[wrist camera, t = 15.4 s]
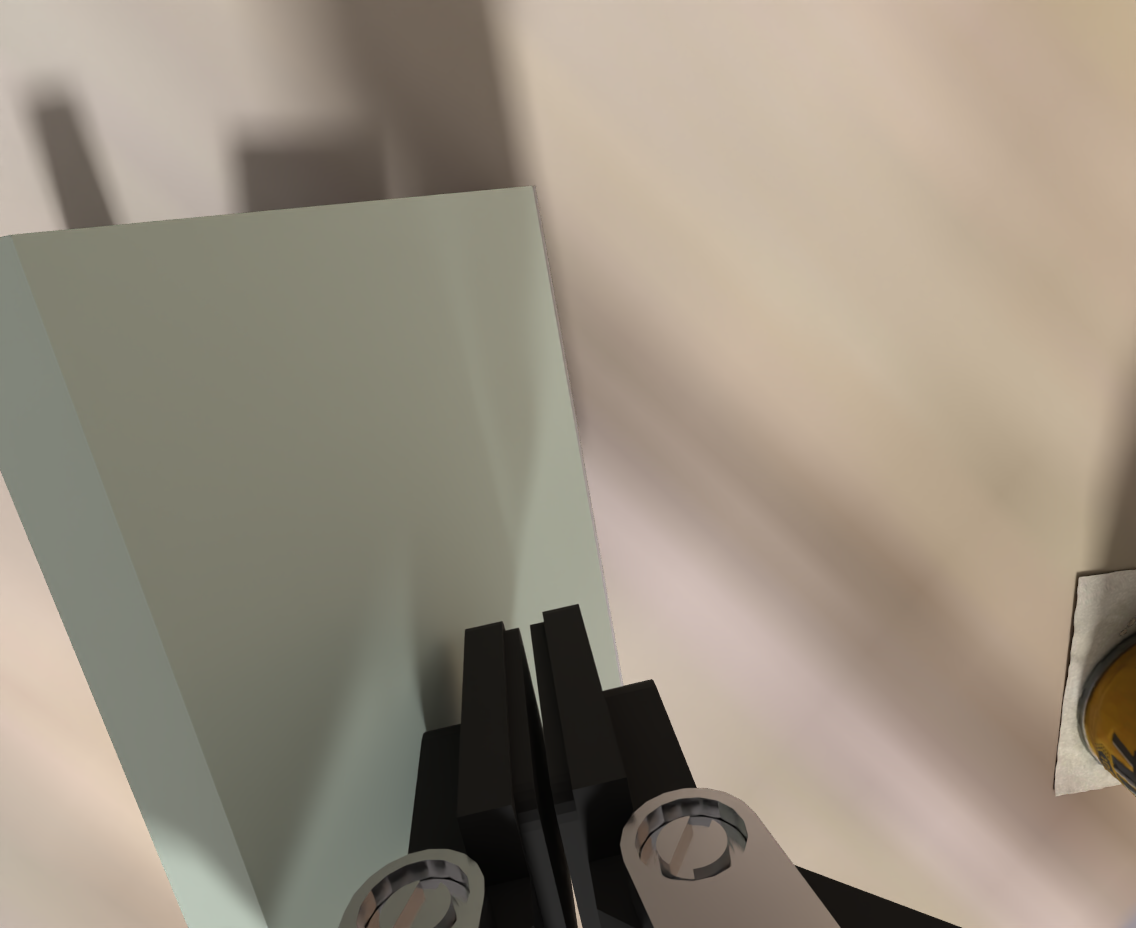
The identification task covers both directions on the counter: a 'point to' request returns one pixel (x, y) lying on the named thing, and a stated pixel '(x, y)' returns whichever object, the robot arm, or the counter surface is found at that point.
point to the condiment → (1100, 689)
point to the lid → (293, 511)
